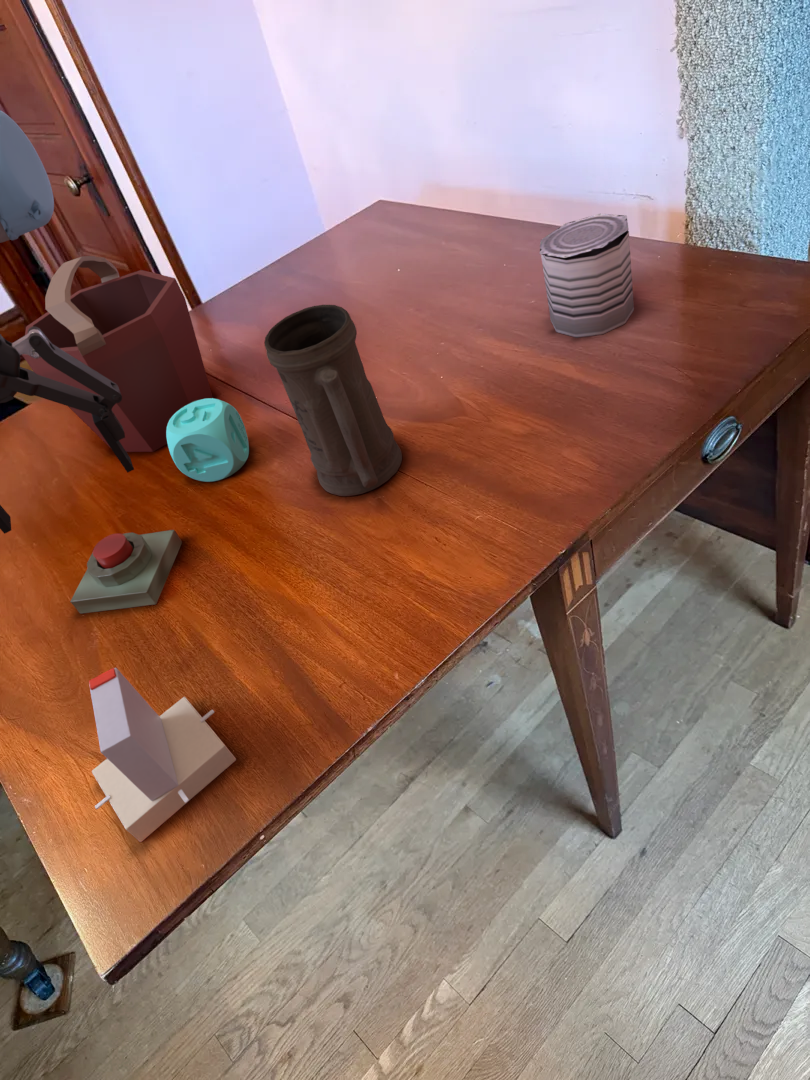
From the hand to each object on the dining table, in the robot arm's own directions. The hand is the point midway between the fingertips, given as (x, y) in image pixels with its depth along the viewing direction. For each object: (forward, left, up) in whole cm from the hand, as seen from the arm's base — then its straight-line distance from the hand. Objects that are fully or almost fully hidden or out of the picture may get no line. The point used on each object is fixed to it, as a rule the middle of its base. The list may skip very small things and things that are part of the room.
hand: (69, 495), depth 78 cm
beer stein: (+13, -27, -14) cm, 33 cm away
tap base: (-25, -13, -14) cm, 31 cm away
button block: (+1, +1, -14) cm, 14 cm away
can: (+41, -56, -14) cm, 71 cm away
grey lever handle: (-25, -13, -11) cm, 30 cm away
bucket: (+35, +10, -14) cm, 39 cm away
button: (+1, +1, -10) cm, 10 cm away
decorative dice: (+21, -5, -14) cm, 26 cm away
